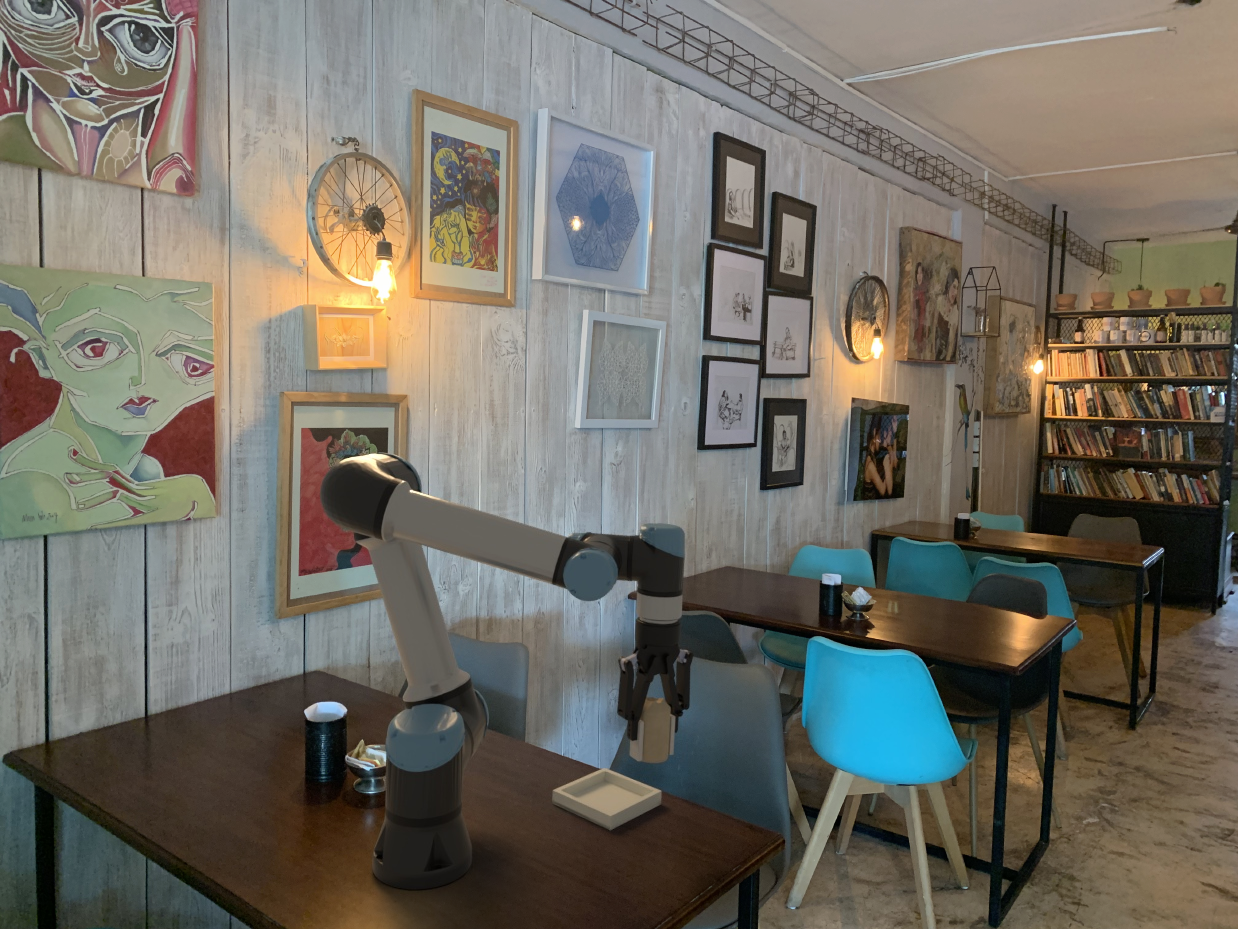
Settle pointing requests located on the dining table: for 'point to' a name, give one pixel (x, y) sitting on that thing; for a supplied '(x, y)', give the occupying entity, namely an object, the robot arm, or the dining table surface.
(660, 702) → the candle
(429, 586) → the robot arm
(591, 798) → the dish
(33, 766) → the dining table surface
